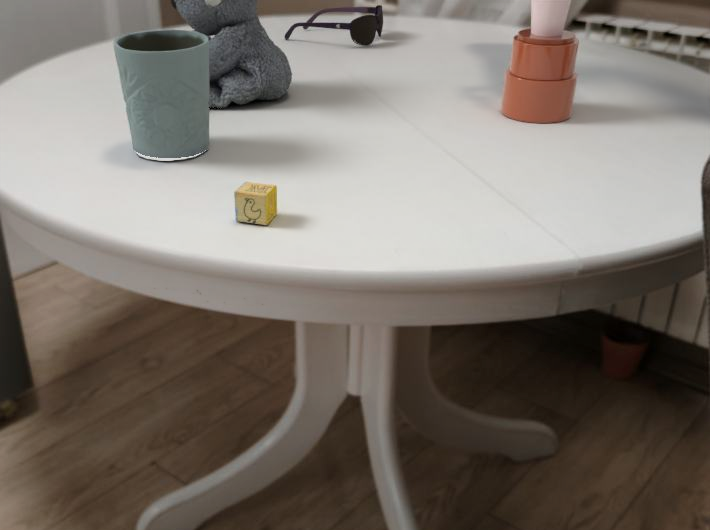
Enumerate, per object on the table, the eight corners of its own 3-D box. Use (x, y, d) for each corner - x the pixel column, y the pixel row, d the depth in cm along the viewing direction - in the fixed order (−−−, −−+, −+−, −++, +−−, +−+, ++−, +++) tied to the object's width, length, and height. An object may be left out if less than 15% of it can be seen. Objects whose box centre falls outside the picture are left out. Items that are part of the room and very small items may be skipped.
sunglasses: (365, 50, 132) (366, 18, 129) (277, 43, 136) (276, 11, 134) (390, 33, 142) (391, 3, 140) (307, 27, 147) (306, -3, 144)
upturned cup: (533, 99, 108) (544, 23, 103) (586, 115, 102) (599, 35, 97) (486, 110, 104) (494, 31, 98) (537, 127, 98) (549, 45, 92)
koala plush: (187, 75, 119) (174, -74, 108) (306, 81, 116) (304, -71, 105) (142, 109, 105) (121, -58, 94) (276, 117, 101) (270, -55, 91)
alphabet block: (247, 210, 77) (245, 179, 75) (278, 213, 76) (277, 183, 74) (235, 222, 74) (233, 191, 73) (267, 226, 74) (265, 195, 72)
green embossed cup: (172, 129, 97) (161, 25, 91) (236, 145, 92) (229, 36, 86) (108, 153, 90) (91, 41, 84) (174, 171, 86) (161, 54, 79)
